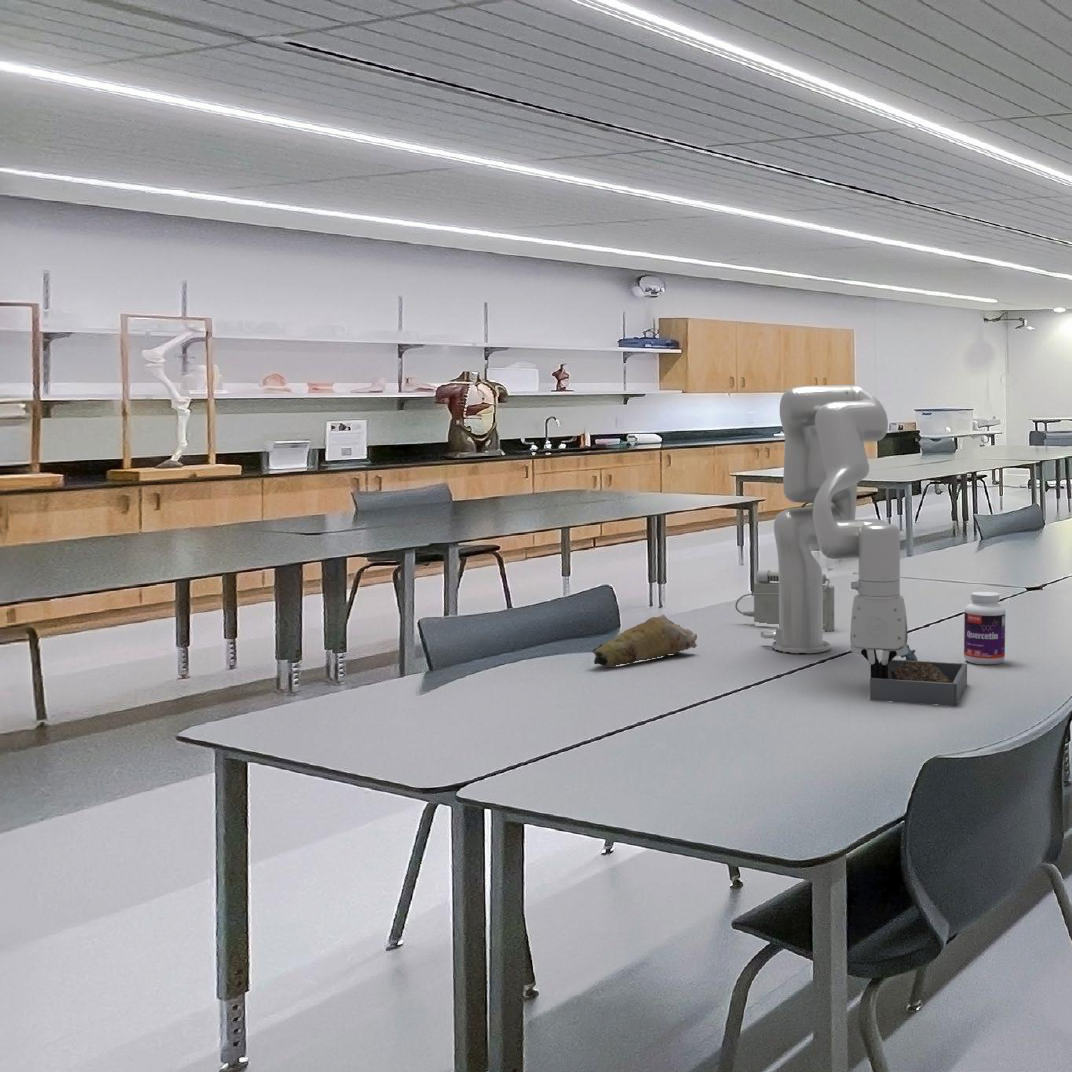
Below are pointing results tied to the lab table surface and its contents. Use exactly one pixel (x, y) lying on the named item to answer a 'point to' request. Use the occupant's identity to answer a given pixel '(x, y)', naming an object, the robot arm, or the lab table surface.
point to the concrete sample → (918, 672)
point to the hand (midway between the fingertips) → (879, 683)
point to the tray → (922, 686)
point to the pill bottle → (984, 629)
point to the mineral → (645, 642)
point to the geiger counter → (769, 600)
